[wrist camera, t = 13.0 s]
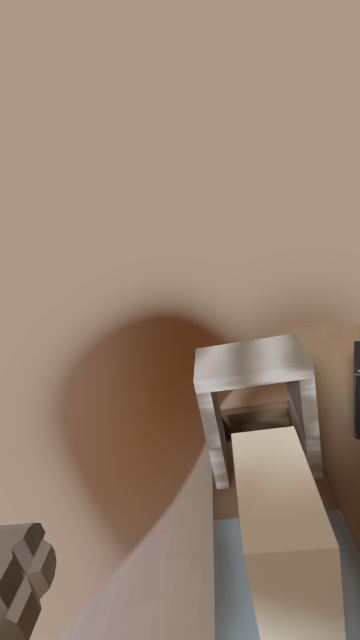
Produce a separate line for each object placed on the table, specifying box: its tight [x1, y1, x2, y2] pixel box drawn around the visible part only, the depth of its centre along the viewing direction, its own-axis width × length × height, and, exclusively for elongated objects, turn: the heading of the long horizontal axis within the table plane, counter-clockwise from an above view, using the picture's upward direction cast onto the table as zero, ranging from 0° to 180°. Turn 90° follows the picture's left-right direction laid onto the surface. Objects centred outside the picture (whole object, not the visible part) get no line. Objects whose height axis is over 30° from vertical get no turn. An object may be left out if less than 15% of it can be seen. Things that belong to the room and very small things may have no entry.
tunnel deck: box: [194, 334, 360, 640], centre depth 37 cm, size 13×32×18 cm, turn 177°
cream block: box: [231, 426, 346, 640], centre depth 29 cm, size 6×12×10 cm, turn 177°
